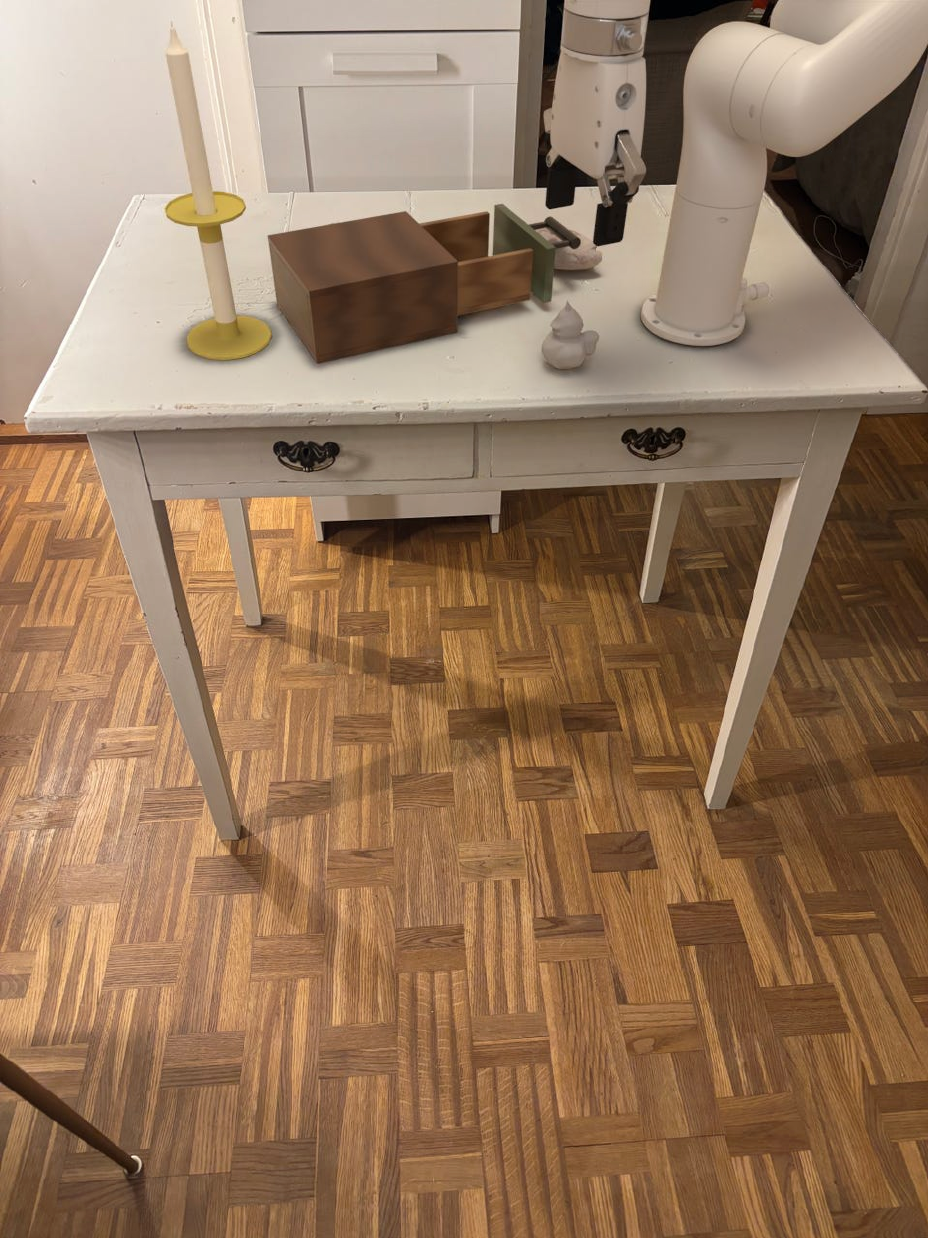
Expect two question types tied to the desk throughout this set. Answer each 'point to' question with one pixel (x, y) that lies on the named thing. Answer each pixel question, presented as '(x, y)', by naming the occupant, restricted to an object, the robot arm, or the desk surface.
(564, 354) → the rubber duck
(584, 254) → the fossil
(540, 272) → the drawer
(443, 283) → the cabinet
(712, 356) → the desk surface
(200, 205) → the candle
